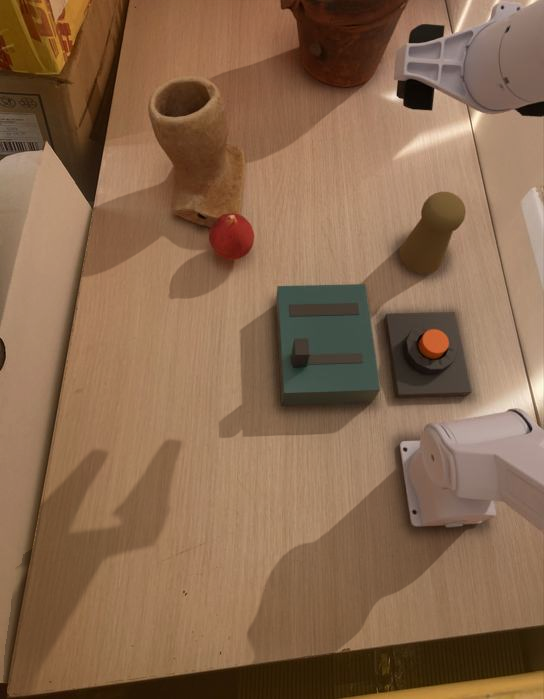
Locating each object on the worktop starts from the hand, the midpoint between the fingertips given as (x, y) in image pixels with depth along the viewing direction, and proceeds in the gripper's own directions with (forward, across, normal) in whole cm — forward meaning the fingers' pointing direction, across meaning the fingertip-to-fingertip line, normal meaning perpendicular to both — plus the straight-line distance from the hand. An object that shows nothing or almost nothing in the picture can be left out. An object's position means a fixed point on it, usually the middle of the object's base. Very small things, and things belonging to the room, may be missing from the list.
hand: (443, 87), depth 47 cm
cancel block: (+12, -7, +29) cm, 32 cm away
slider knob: (+9, +10, +28) cm, 31 cm away
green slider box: (+14, +6, +29) cm, 32 cm away
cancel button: (+10, -7, +27) cm, 30 cm away
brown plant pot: (+49, -3, -11) cm, 50 cm away
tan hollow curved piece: (+33, +20, +10) cm, 40 cm away
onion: (+25, +16, +18) cm, 35 cm away
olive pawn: (+22, -10, +18) cm, 30 cm away
